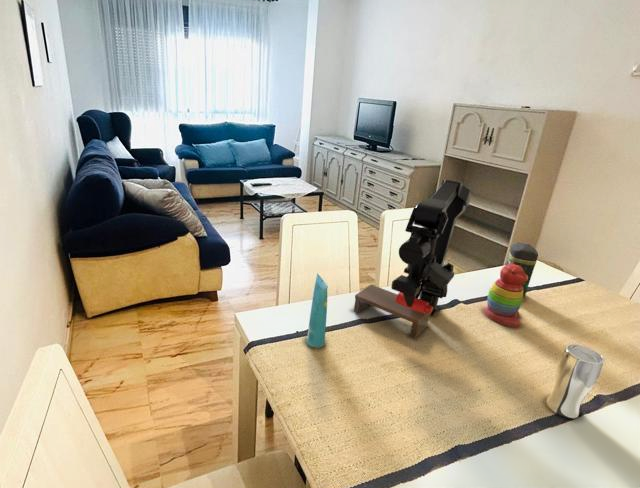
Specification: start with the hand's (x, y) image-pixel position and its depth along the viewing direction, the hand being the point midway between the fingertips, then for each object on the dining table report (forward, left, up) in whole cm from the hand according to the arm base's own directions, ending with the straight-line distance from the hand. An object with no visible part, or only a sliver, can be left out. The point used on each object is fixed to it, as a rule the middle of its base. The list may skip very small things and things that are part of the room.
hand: (411, 303), depth 105 cm
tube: (+20, -17, -11) cm, 28 cm away
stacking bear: (-33, +17, -11) cm, 39 cm away
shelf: (-6, -8, -11) cm, 14 cm away
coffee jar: (-52, +16, -11) cm, 55 cm away
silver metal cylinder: (0, +37, -11) cm, 39 cm away
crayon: (0, 0, -1) cm, 1 cm away
